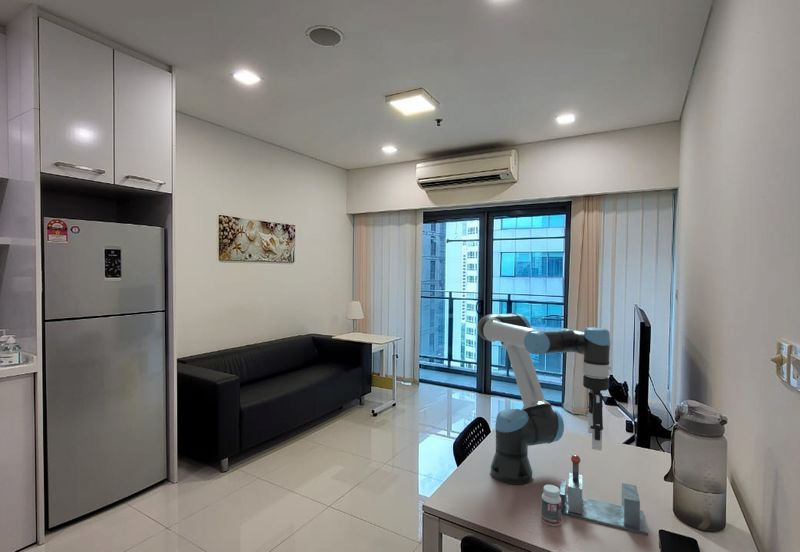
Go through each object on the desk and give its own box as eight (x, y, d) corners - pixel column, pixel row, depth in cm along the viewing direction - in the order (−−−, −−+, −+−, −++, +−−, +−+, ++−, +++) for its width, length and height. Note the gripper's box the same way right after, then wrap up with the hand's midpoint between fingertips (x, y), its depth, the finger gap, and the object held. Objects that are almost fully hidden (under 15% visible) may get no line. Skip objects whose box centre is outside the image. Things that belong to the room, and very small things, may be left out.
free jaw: (567, 511, 126) (568, 460, 126) (569, 495, 135) (569, 448, 135) (581, 514, 125) (582, 462, 125) (582, 498, 134) (582, 450, 134)
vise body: (559, 513, 127) (559, 485, 127) (561, 495, 137) (561, 469, 137) (648, 535, 116) (648, 505, 116) (642, 513, 127) (643, 485, 127)
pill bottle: (562, 527, 119) (563, 494, 119) (542, 525, 121) (543, 492, 121) (559, 516, 125) (559, 484, 125) (540, 514, 126) (540, 482, 126)
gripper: (614, 387, 117) (612, 459, 117) (604, 368, 140) (603, 428, 141) (586, 384, 120) (584, 454, 120) (580, 366, 143) (579, 425, 143)
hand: (594, 440), depth 130 cm, fingers open, 13 cm apart
